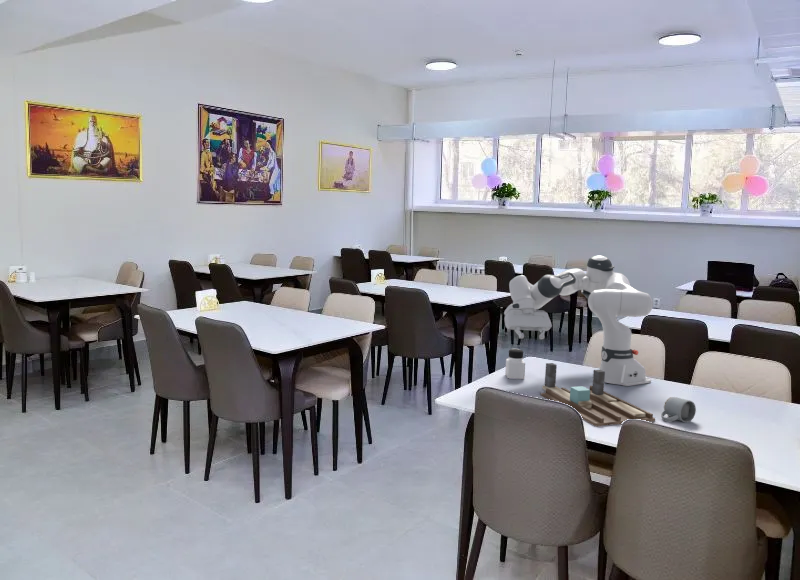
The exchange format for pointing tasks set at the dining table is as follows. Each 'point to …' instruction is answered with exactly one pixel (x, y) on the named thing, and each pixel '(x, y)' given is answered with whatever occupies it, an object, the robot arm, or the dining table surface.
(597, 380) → the left strip stub
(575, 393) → the teal cube
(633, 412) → the left strip far piece
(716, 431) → the dining table surface
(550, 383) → the right strip
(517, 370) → the medicine bottle
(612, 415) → the lane board
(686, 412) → the ceramic mug
